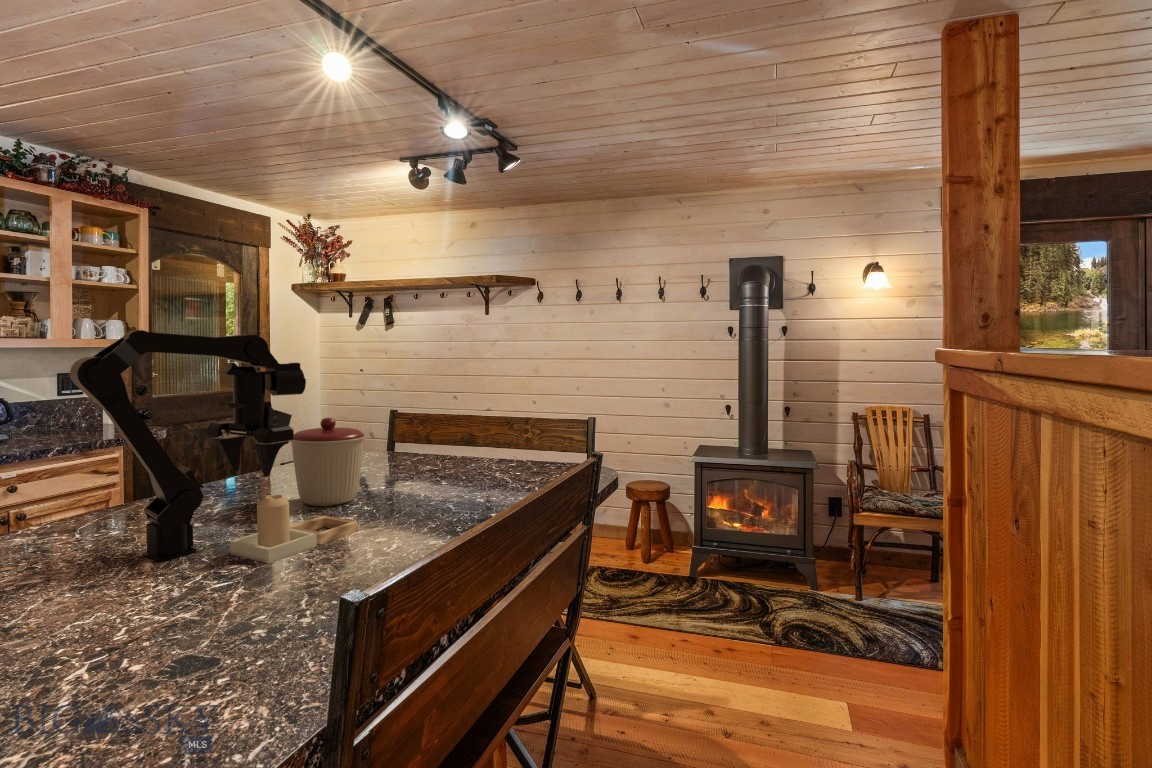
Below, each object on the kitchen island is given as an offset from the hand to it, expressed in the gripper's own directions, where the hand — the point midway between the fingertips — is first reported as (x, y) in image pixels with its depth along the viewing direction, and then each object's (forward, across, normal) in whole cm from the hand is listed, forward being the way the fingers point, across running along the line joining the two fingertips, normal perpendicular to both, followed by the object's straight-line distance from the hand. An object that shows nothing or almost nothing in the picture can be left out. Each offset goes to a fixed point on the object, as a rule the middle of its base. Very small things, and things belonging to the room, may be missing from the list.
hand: (251, 473), depth 125 cm
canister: (+13, +9, -28) cm, 32 cm away
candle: (+13, -11, +4) cm, 17 cm away
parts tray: (+13, -11, +4) cm, 17 cm away
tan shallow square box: (+13, -11, -8) cm, 19 cm away
